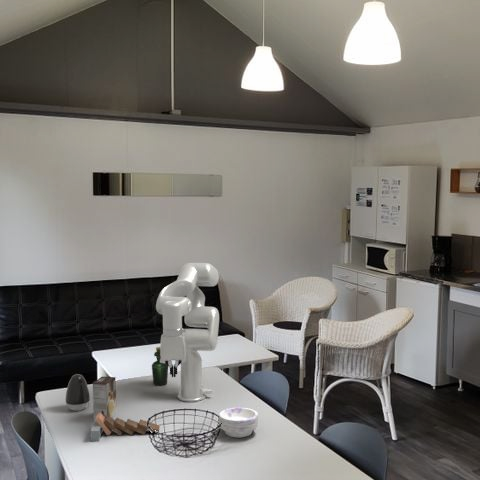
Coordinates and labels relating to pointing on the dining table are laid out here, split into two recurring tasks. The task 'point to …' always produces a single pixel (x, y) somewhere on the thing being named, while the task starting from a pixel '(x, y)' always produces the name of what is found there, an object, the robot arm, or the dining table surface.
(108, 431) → the domino
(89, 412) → the dining table surface
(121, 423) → the domino
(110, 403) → the coffee box
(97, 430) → the end block
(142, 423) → the domino
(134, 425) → the domino
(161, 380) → the potion bottle
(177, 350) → the robot arm
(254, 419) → the white floral bowl
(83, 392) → the dark grey egg shape
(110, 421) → the domino
